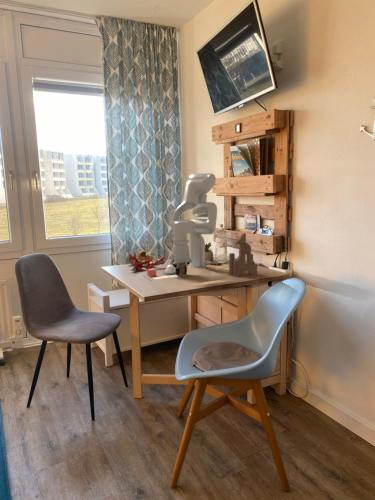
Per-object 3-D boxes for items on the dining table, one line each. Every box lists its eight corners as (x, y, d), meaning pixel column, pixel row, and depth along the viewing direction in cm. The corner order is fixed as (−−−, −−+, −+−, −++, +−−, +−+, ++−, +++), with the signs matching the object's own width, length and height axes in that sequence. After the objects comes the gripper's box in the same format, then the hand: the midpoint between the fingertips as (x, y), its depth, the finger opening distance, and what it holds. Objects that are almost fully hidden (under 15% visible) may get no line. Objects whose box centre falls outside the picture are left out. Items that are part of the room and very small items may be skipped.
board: (178, 273, 230) (177, 264, 229) (188, 277, 218) (188, 268, 217) (142, 277, 220) (142, 268, 219) (151, 283, 207) (151, 273, 206)
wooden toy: (253, 272, 228) (253, 231, 224) (257, 275, 221) (257, 232, 217) (228, 274, 225) (228, 232, 221) (231, 277, 218) (232, 234, 214)
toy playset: (122, 265, 257) (121, 245, 255) (160, 262, 265) (159, 243, 262) (130, 277, 224) (129, 253, 222) (173, 273, 232) (172, 250, 229)
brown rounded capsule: (182, 273, 222) (182, 260, 221) (186, 275, 218) (185, 261, 217) (176, 274, 220) (176, 261, 219) (179, 276, 216) (179, 262, 215)
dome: (172, 271, 226) (172, 263, 226) (176, 273, 222) (175, 265, 221) (164, 272, 224) (164, 264, 223) (168, 274, 219) (167, 266, 219)
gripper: (190, 241, 223) (191, 271, 226) (164, 243, 216) (165, 274, 219) (196, 242, 216) (197, 273, 219) (170, 245, 209) (170, 277, 212)
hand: (181, 274), depth 219 cm, fingers closed on brown rounded capsule, 3 cm apart
